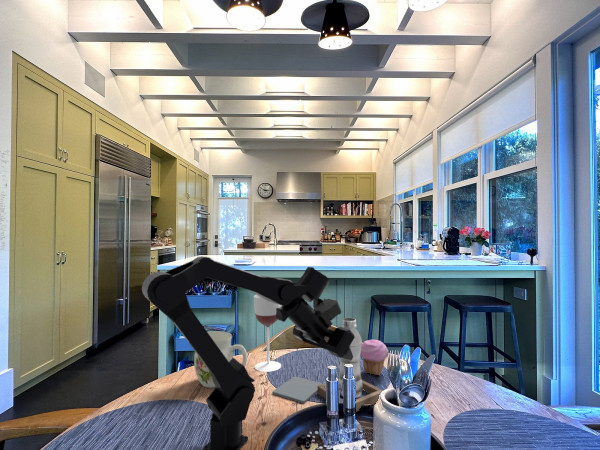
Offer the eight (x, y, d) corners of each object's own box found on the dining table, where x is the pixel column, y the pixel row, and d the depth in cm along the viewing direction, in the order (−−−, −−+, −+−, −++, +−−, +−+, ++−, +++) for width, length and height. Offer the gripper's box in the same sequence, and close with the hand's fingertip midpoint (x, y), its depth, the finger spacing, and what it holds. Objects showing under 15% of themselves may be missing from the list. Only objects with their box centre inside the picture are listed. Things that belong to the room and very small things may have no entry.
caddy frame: (349, 414, 73) (349, 405, 74) (317, 393, 84) (317, 385, 84) (384, 399, 80) (384, 391, 81) (351, 381, 91) (351, 374, 91)
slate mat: (304, 403, 79) (304, 401, 79) (272, 393, 84) (272, 391, 84) (324, 386, 88) (324, 384, 88) (294, 378, 93) (294, 376, 93)
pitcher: (241, 393, 84) (241, 341, 85) (178, 389, 87) (178, 339, 87) (252, 375, 95) (252, 330, 96) (196, 373, 98) (196, 328, 98)
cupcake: (355, 375, 95) (354, 341, 95) (364, 365, 102) (363, 334, 103) (384, 381, 90) (384, 346, 91) (391, 370, 98) (391, 338, 99)
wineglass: (248, 370, 99) (248, 297, 100) (261, 359, 108) (261, 292, 110) (275, 374, 96) (275, 298, 97) (286, 361, 106) (285, 293, 107)
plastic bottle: (334, 399, 81) (333, 321, 82) (343, 388, 87) (342, 315, 88) (358, 405, 78) (357, 323, 79) (366, 393, 84) (364, 317, 85)
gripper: (347, 295, 71) (381, 335, 76) (301, 285, 86) (332, 319, 92) (320, 337, 66) (359, 376, 72) (276, 319, 81) (311, 353, 87)
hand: (339, 353), depth 81 cm, fingers open, 9 cm apart
